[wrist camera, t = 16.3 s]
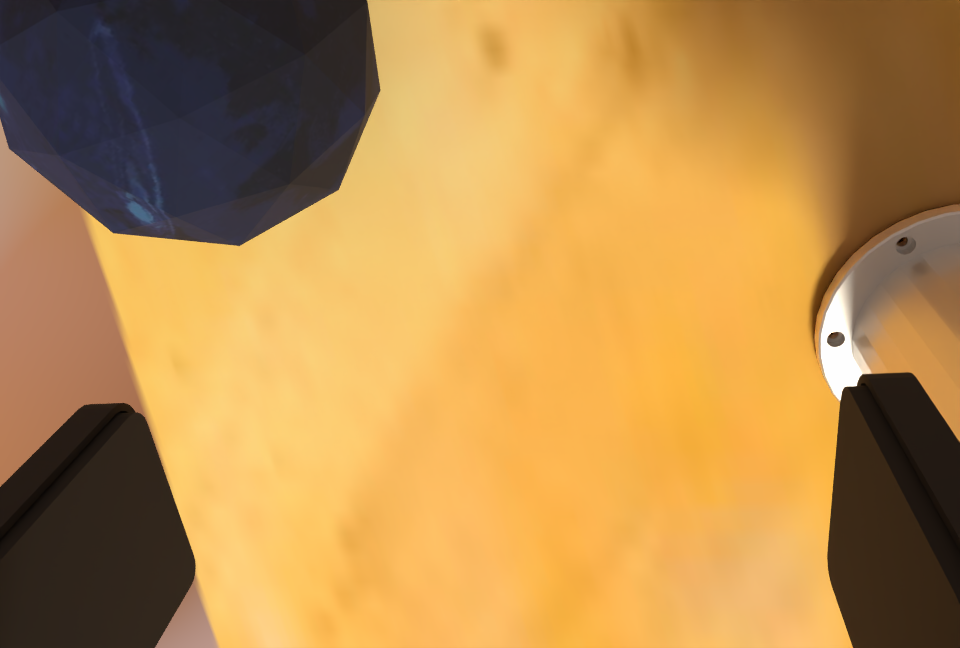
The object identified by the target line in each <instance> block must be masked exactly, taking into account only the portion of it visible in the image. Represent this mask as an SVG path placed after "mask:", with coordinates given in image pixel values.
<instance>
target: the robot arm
mask: <svg viewBox="0 0 960 648" xmlns="http://www.w3.org/2000/svg"><path fill="white" fill-rule="evenodd" d="M903 237H905V239H904V241H902V242H901V243H897V241H899V240H900V239H901V238H903ZM832 332H835V333H834V334H832V335H829V334H831V333H832ZM814 339H815V348H816V357H817V360H818V363H819V366H820V369H821V371H822V374H823V377H824V379H825V381H826V382H827V384H828V386H829V388H830V390H831V392H832V394H833V395H834V396H835V397H836V398H837V400H838V401H839V402H840V412H839V423H838V435H837V447H836V459H835V471H834V482H833V494H832V506H831V518H830V530H829V541H828V556H827V559H828V571H829V576H830V581H831V585H832V588H833V591H834V593H835V596H836V599H837V602H838V605H839V608H840V611H841V614H842V617H843V619H844V622H845V625H846V628H847V631H848V634H849V637H850V640H851V643H852V646H853V648H960V204H955V205H949V206H945V207H941V208H937V209H932V210H928V211H924V212H922V213H919V214H917V215H914V216H912V217H909V218H907V219H904V220H902V221H900V222H897V223H896V224H894V225H892V226H891V227H889V228H887V229H886V230H884V231H882V232H881V233H879V234H877V235H876V236H874V237H873V238H872V239H870V240H869V241H868V242H867V243H866V244H865V245H863V246H862V247H861V248H860V249H859V250H857V251H856V252H855V253H854V254H853V255H852V256H851V257H850V258H849V260H848V261H847V262H846V263H845V264H844V265H843V267H842V268H841V269H840V270H839V271H838V272H837V274H836V275H835V277H834V279H833V280H832V282H831V284H830V286H829V287H828V289H827V291H826V292H825V294H824V297H823V300H822V303H821V306H820V308H819V311H818V314H817V319H816V328H815V336H814ZM194 576H195V559H194V555H193V552H192V549H191V546H190V543H189V541H188V538H187V535H186V532H185V529H184V526H183V523H182V521H181V518H180V515H179V512H178V509H177V506H176V504H175V501H174V498H173V495H172V492H171V489H170V486H169V484H168V481H167V478H166V475H165V472H164V469H163V466H162V464H161V461H160V458H159V455H158V452H157V450H156V447H155V444H154V441H153V438H152V435H151V432H150V429H149V427H148V424H147V421H146V419H145V417H144V416H143V415H141V414H140V413H135V411H134V409H133V408H132V407H131V406H130V405H128V404H125V403H113V404H90V405H84V406H83V407H81V408H80V409H78V410H77V411H76V412H75V413H74V414H73V415H72V416H71V417H70V418H69V419H68V420H67V421H66V422H65V423H64V424H63V425H62V426H61V427H60V428H59V429H58V430H57V431H56V432H55V433H54V434H53V435H52V436H51V437H50V438H49V439H48V440H47V441H46V442H45V443H44V444H43V445H42V446H41V447H40V448H39V449H38V450H37V451H36V452H35V453H34V454H33V455H32V456H31V457H30V458H29V459H28V460H27V461H26V462H25V463H24V464H23V465H22V466H21V467H20V468H19V469H18V470H17V471H16V472H15V473H14V474H13V475H12V476H11V477H10V478H9V479H8V480H7V481H6V482H5V483H4V484H3V485H2V486H1V487H0V648H155V646H156V645H157V643H158V641H159V640H160V638H161V636H162V634H163V632H164V631H165V629H166V628H167V626H168V624H169V622H170V621H171V619H172V617H173V616H174V614H175V612H176V611H177V609H178V607H179V605H180V604H181V602H182V600H183V599H184V597H185V595H186V593H187V592H188V590H189V588H190V586H191V585H192V582H193V580H194Z"/></svg>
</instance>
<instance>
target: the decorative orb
mask: <svg viewBox="0 0 960 648" xmlns="http://www.w3.org/2000/svg"><path fill="white" fill-rule="evenodd" d="M379 92H380V85H379V78H378V71H377V64H376V57H375V51H374V44H373V37H372V30H371V23H370V17H369V10H368V3H367V0H0V119H1V122H2V126H3V129H4V133H5V136H6V139H7V143H8V146H9V149H10V150H12V151H13V152H14V153H15V154H17V155H18V156H19V157H20V158H21V159H23V160H24V161H25V162H26V163H28V164H29V165H30V166H31V167H33V168H34V169H35V170H36V171H37V172H39V173H40V174H41V175H42V176H44V177H45V178H46V179H47V180H49V181H50V182H51V183H52V184H54V185H55V186H56V187H57V188H58V189H60V190H61V191H62V192H64V193H65V194H66V195H67V196H68V197H70V198H71V199H72V200H73V201H74V202H76V203H77V204H78V205H79V206H81V207H82V208H83V209H84V210H86V211H87V212H88V213H89V214H90V215H92V216H93V217H94V218H95V219H97V220H98V221H99V222H100V223H102V224H103V225H104V226H105V227H107V228H108V229H109V230H110V231H111V232H113V233H117V234H127V235H137V236H147V237H157V238H167V239H177V240H187V241H197V242H207V243H217V244H227V245H237V246H240V245H242V244H244V243H245V242H247V241H249V240H251V239H252V238H254V237H256V236H258V235H259V234H261V233H263V232H265V231H266V230H268V229H270V228H272V227H274V226H275V225H277V224H279V223H281V222H282V221H284V220H286V219H288V218H289V217H291V216H293V215H295V214H297V213H298V212H300V211H302V210H304V209H305V208H307V207H309V206H311V205H312V204H314V203H316V202H318V201H320V200H321V199H323V198H325V197H327V196H328V195H330V194H332V193H334V192H335V191H337V190H339V188H340V185H341V183H342V180H343V178H344V176H345V173H346V171H347V169H348V166H349V164H350V161H351V159H352V157H353V154H354V152H355V149H356V147H357V145H358V142H359V140H360V137H361V135H362V133H363V130H364V128H365V126H366V123H367V121H368V118H369V116H370V114H371V111H372V109H373V106H374V104H375V102H376V99H377V97H378V94H379Z"/></svg>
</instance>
